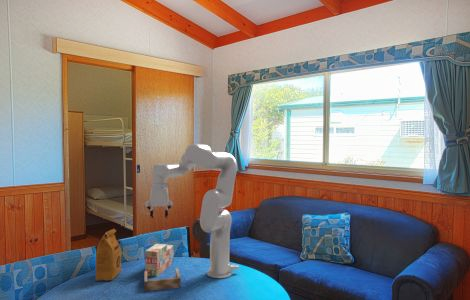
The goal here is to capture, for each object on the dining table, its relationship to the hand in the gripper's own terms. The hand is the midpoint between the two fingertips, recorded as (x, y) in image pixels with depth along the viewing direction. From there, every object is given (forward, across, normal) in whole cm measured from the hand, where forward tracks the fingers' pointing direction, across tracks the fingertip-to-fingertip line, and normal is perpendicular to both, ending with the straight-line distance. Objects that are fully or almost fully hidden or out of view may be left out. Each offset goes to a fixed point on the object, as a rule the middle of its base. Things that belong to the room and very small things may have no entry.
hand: (159, 217), depth 188 cm
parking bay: (+23, 0, +38) cm, 44 cm away
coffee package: (+23, +24, +24) cm, 41 cm away
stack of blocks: (+23, 0, +18) cm, 29 cm away
